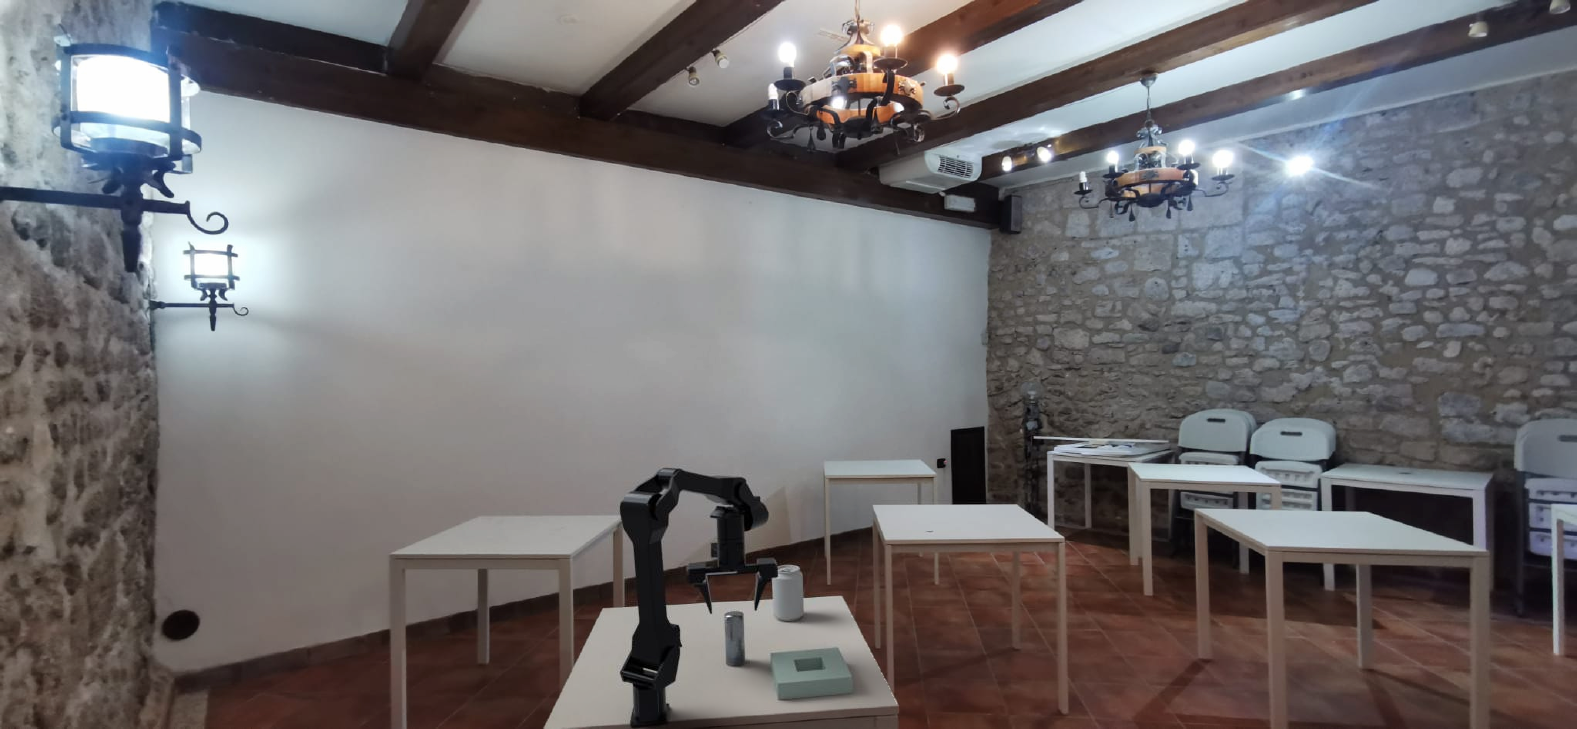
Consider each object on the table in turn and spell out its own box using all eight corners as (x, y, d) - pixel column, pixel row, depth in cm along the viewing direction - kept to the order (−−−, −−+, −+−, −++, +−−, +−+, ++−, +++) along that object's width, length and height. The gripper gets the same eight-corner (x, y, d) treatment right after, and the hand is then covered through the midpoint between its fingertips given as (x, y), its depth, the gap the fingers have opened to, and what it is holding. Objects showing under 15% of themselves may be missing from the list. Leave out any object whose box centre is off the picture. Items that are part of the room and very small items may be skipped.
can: (767, 619, 172) (766, 570, 172) (782, 609, 178) (780, 562, 178) (795, 624, 168) (793, 573, 168) (809, 613, 175) (807, 565, 175)
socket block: (852, 692, 132) (852, 676, 132) (778, 699, 131) (777, 683, 131) (838, 661, 146) (838, 647, 146) (770, 667, 145) (770, 652, 145)
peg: (745, 665, 146) (744, 617, 146) (726, 667, 145) (724, 618, 145) (744, 657, 150) (743, 610, 150) (725, 659, 149) (724, 611, 149)
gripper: (771, 525, 157) (774, 596, 157) (686, 530, 155) (688, 602, 154) (777, 537, 146) (779, 613, 146) (685, 543, 143) (687, 620, 143)
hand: (733, 611), depth 148 cm, fingers open, 9 cm apart
